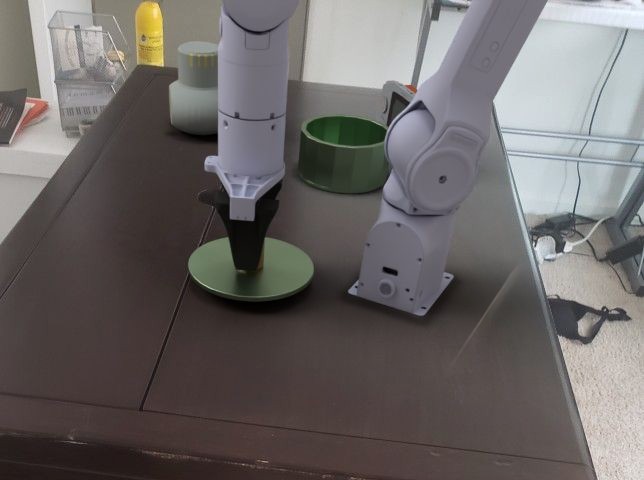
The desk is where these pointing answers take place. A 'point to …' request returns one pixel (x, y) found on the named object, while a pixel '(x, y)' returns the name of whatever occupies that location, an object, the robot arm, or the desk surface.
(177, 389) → the desk surface
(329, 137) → the tin
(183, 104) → the air freshener
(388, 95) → the handheld gaming console
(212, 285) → the lid
